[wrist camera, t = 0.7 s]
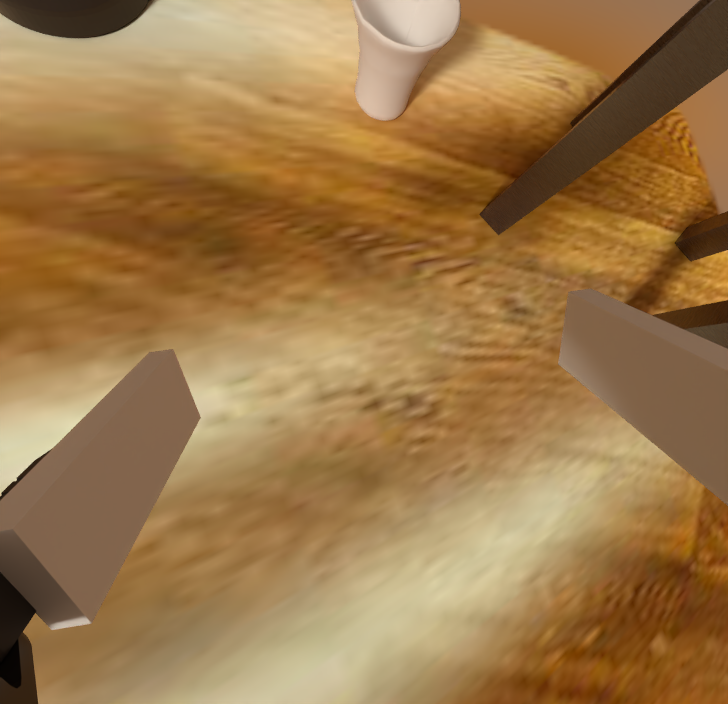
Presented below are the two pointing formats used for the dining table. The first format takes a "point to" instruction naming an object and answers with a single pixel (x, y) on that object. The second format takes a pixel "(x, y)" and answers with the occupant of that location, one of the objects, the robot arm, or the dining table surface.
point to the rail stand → (623, 122)
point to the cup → (398, 48)
